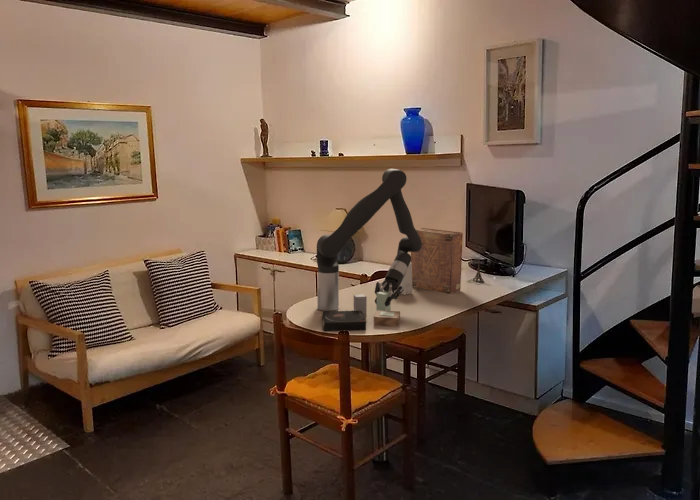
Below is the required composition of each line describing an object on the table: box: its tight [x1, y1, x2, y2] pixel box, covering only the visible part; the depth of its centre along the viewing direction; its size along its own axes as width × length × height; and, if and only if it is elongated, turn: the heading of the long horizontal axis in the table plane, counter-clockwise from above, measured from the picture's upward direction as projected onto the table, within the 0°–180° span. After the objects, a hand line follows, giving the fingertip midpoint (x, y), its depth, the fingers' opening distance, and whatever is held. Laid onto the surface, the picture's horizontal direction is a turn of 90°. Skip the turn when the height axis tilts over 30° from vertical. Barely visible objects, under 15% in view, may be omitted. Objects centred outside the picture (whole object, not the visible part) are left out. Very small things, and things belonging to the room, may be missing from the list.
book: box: [410, 227, 464, 294], centre depth 309 cm, size 25×9×30 cm, turn 47°
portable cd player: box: [321, 310, 367, 332], centre depth 247 cm, size 16×17×4 cm
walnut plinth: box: [373, 310, 401, 328], centre depth 251 cm, size 10×10×4 cm
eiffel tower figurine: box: [466, 259, 485, 286], centre depth 327 cm, size 15×10×13 cm
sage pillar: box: [375, 290, 392, 311], centre depth 265 cm, size 4×4×9 cm
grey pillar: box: [353, 293, 368, 318], centre depth 260 cm, size 4×4×9 cm
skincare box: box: [395, 262, 413, 296], centre depth 300 cm, size 8×7×16 cm
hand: (381, 304), depth 264 cm, fingers closed on sage pillar, 4 cm apart
